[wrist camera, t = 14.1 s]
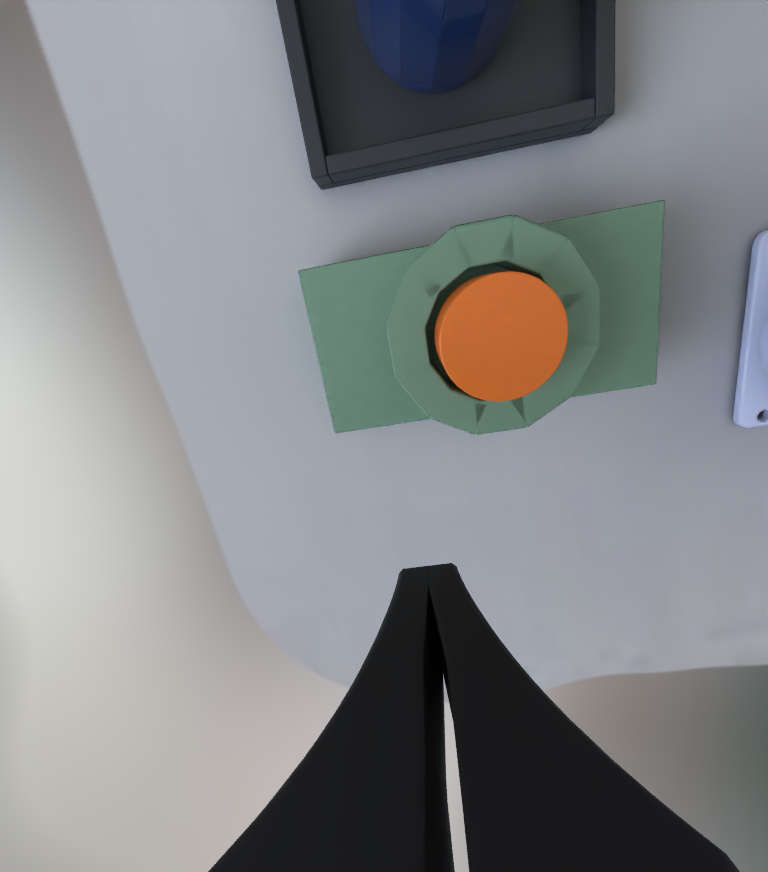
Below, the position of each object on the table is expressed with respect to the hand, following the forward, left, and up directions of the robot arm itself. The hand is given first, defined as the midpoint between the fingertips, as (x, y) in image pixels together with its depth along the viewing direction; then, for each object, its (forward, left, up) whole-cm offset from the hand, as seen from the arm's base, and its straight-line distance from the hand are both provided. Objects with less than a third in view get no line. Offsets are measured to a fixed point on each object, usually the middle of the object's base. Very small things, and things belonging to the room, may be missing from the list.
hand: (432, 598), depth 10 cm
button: (-3, -5, -5) cm, 8 cm away
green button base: (-3, -6, -10) cm, 12 cm away
